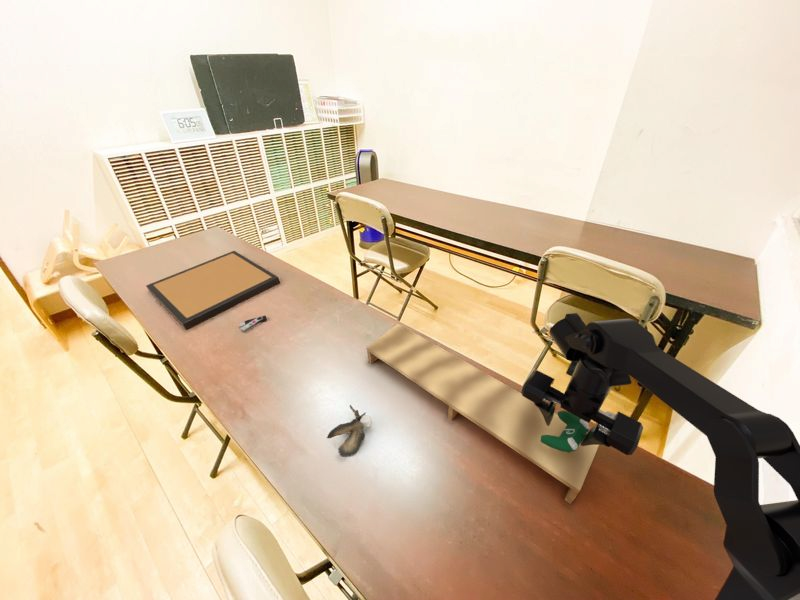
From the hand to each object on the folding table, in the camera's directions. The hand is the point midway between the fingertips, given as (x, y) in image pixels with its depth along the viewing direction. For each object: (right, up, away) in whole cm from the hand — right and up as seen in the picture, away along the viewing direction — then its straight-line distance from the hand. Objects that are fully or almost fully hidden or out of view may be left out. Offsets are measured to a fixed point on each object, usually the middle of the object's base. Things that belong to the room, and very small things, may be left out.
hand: (565, 433), depth 63 cm
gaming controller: (0, -1, +1) cm, 1 cm away
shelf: (-16, +1, +18) cm, 24 cm away
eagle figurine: (-43, -6, +11) cm, 45 cm away
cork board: (-104, +31, +63) cm, 126 cm away
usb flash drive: (-81, +18, +44) cm, 93 cm away
